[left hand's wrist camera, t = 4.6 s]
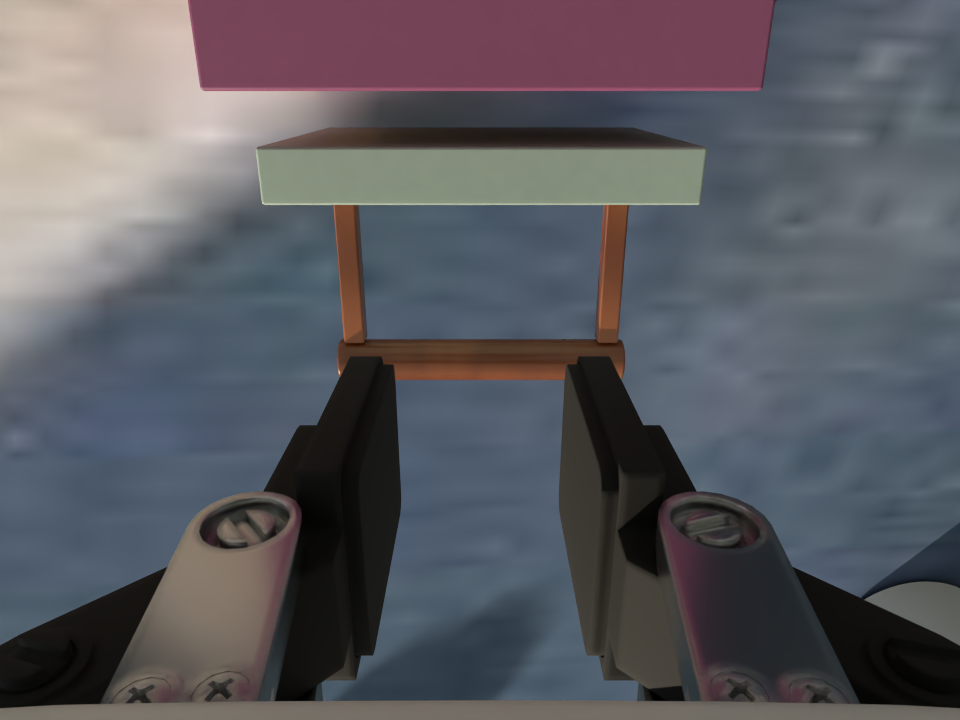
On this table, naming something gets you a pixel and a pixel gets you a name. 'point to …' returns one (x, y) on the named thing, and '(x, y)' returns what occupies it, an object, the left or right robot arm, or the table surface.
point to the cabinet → (481, 45)
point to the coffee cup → (924, 606)
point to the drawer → (481, 181)
